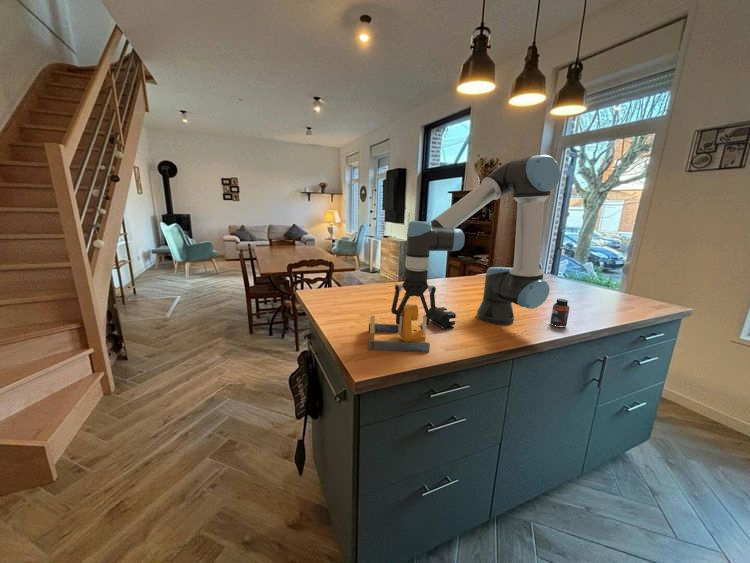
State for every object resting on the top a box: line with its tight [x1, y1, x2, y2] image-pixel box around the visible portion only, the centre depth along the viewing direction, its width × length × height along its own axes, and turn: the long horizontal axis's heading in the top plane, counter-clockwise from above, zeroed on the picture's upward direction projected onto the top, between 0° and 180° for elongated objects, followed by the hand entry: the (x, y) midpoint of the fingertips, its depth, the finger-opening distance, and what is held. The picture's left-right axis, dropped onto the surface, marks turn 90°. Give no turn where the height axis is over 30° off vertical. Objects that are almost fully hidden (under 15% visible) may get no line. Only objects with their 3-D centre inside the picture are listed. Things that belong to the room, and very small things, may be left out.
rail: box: [367, 315, 431, 353], centre depth 105 cm, size 20×16×6 cm
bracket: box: [398, 304, 427, 342], centre depth 104 cm, size 11×7×12 cm, turn 8°
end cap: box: [428, 306, 457, 330], centre depth 122 cm, size 10×7×7 cm
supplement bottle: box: [549, 298, 570, 327], centre depth 126 cm, size 6×6×11 cm
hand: (411, 333), depth 105 cm, fingers closed on bracket, 8 cm apart
